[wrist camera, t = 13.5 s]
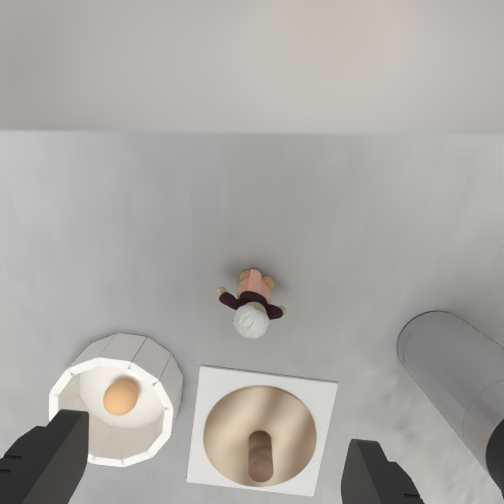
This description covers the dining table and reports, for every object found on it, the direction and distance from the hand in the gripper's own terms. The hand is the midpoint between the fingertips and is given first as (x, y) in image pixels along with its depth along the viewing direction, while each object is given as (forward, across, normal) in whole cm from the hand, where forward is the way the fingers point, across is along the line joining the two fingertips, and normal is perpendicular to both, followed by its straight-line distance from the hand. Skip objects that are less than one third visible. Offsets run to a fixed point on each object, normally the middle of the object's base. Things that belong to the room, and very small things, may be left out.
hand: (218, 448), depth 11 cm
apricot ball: (+29, +12, +20) cm, 37 cm away
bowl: (+32, +12, +20) cm, 40 cm away
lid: (+31, -6, +26) cm, 41 cm away
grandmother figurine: (+32, -2, +5) cm, 32 cm away
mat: (+32, -6, +26) cm, 41 cm away
